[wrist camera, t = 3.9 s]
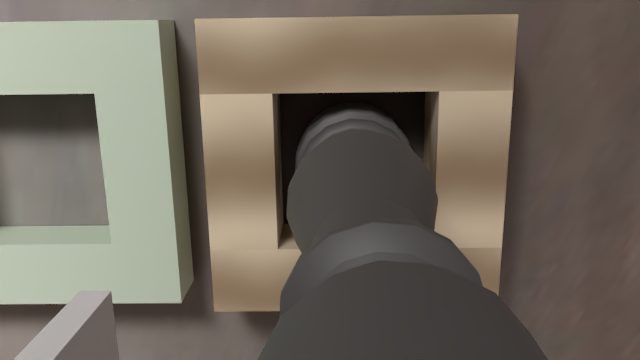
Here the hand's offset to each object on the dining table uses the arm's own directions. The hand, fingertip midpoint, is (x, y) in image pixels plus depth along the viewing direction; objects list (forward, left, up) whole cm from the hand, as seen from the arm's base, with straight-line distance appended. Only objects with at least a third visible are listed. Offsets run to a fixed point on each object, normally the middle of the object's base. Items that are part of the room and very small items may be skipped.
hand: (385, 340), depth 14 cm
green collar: (0, -17, -19) cm, 26 cm away
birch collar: (0, 0, -19) cm, 19 cm away
